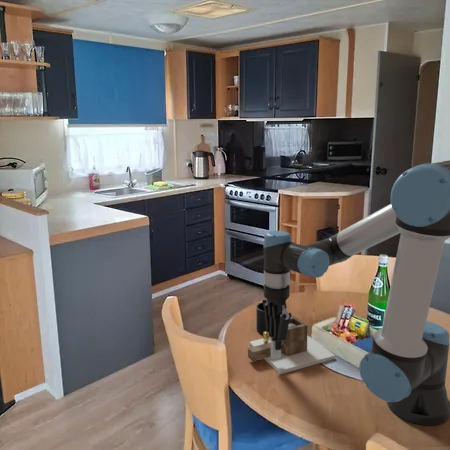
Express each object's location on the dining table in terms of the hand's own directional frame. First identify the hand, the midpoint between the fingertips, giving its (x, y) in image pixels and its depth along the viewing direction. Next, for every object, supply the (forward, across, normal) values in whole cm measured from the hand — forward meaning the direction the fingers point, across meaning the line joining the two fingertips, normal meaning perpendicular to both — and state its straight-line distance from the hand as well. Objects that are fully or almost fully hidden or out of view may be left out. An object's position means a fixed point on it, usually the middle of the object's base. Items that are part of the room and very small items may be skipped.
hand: (275, 357), depth 134 cm
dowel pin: (+3, +13, -4) cm, 14 cm away
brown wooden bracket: (+3, +7, -4) cm, 8 cm away
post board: (+4, +7, -10) cm, 12 cm away
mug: (+4, +25, -12) cm, 28 cm away
